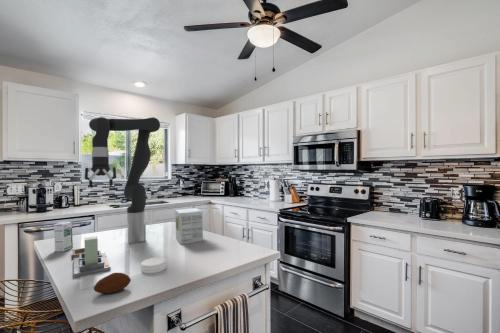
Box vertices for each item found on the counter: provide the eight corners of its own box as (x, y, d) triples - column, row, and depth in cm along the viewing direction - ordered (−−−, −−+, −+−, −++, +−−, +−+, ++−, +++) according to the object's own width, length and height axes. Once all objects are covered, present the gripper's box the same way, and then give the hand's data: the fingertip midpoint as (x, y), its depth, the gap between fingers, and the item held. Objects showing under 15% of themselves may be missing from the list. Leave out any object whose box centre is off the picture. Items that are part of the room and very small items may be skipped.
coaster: (160, 263, 121) (160, 255, 121) (170, 269, 114) (169, 261, 114) (137, 269, 115) (137, 260, 115) (146, 276, 107) (146, 267, 107)
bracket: (93, 250, 141) (93, 246, 141) (94, 255, 133) (94, 251, 133) (72, 253, 136) (72, 249, 136) (72, 259, 128) (72, 255, 128)
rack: (105, 255, 132) (105, 248, 132) (110, 270, 113) (110, 262, 113) (73, 261, 125) (73, 254, 125) (73, 277, 106) (73, 269, 106)
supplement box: (175, 239, 160) (174, 209, 160) (197, 235, 166) (196, 207, 166) (180, 244, 148) (179, 213, 148) (203, 241, 154) (202, 210, 154)
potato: (93, 292, 94) (92, 274, 94) (129, 284, 100) (128, 266, 100) (94, 300, 89) (94, 280, 88) (132, 290, 95) (131, 272, 95)
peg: (97, 263, 117) (96, 236, 117) (98, 266, 114) (97, 238, 113) (85, 265, 115) (84, 237, 115) (85, 269, 111) (84, 240, 111)
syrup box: (63, 251, 140) (63, 223, 140) (54, 251, 141) (53, 223, 141) (73, 248, 145) (72, 221, 145) (63, 247, 147) (63, 221, 146)
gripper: (114, 156, 147) (115, 186, 147) (84, 156, 139) (84, 187, 139) (116, 155, 140) (117, 186, 140) (84, 155, 133) (85, 188, 133)
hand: (101, 187), depth 140 cm, fingers open, 8 cm apart
